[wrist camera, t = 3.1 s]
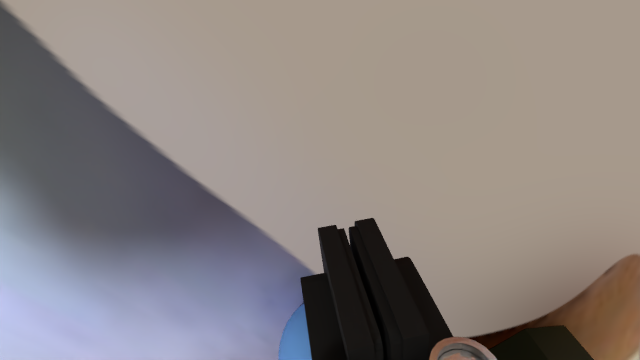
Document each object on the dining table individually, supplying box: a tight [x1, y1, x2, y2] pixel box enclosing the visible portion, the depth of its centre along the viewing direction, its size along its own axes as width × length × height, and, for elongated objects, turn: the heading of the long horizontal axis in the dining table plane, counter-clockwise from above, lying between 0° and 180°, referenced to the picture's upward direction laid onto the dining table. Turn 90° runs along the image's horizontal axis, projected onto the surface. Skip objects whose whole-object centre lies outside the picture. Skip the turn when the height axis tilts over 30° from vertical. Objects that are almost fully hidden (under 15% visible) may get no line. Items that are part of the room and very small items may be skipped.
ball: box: [279, 303, 312, 360], centre depth 17 cm, size 6×6×6 cm
